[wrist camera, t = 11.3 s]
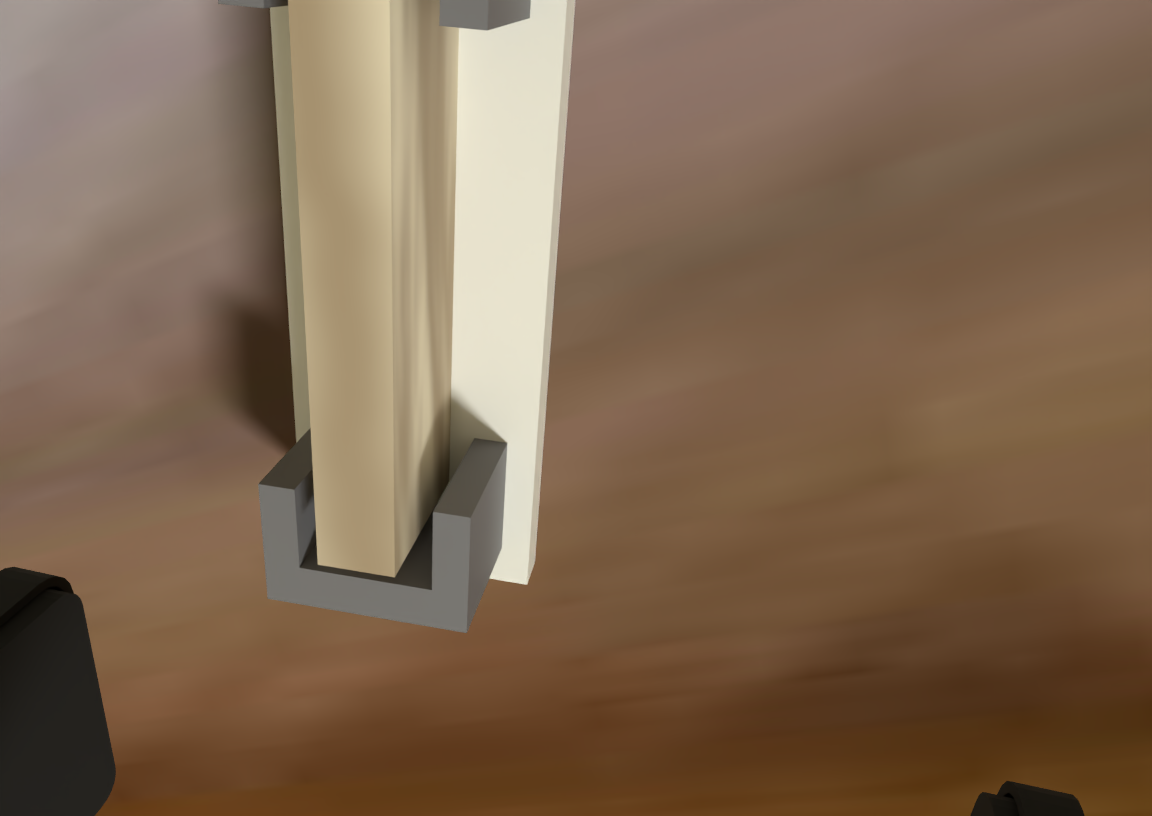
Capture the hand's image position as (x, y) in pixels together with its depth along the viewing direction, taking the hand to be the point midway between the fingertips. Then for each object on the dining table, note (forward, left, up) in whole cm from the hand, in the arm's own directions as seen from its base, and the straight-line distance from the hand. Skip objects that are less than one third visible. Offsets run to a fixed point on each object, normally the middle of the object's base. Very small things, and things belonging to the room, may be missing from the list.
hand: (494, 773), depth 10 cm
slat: (+8, +1, -22) cm, 23 cm away
